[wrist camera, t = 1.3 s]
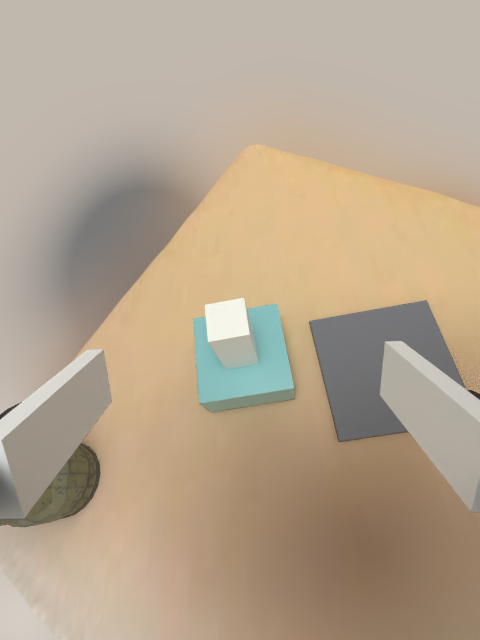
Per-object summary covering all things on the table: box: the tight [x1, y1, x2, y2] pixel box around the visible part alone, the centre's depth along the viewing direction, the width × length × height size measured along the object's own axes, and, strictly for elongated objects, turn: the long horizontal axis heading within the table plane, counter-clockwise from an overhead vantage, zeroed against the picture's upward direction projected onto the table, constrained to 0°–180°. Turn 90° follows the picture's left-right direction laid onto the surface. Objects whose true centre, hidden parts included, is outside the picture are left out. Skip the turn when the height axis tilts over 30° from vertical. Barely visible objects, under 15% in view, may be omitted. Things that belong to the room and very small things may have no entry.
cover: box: [194, 298, 294, 412], centre depth 38 cm, size 11×11×15 cm
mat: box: [309, 300, 466, 442], centre depth 41 cm, size 16×16×1 cm
